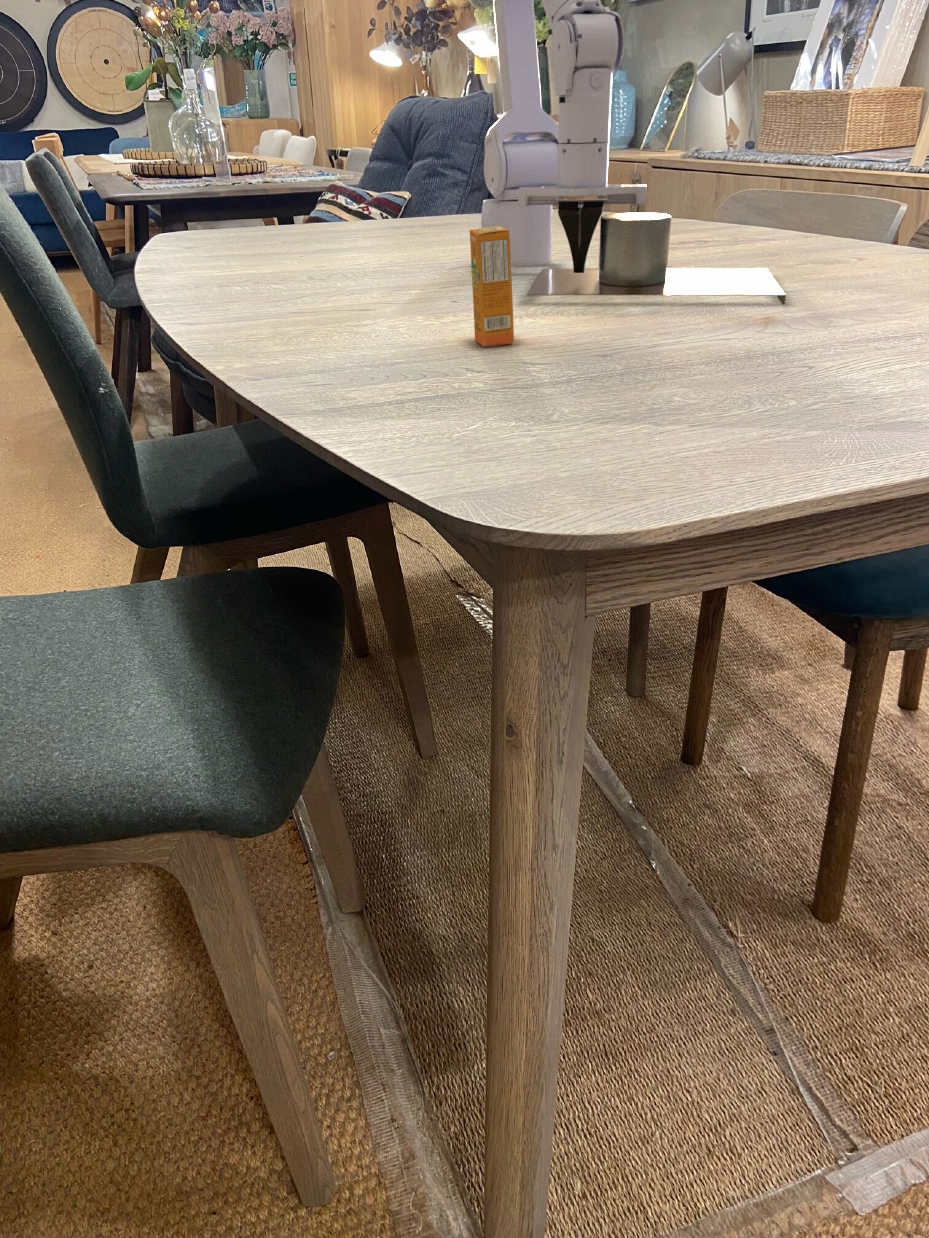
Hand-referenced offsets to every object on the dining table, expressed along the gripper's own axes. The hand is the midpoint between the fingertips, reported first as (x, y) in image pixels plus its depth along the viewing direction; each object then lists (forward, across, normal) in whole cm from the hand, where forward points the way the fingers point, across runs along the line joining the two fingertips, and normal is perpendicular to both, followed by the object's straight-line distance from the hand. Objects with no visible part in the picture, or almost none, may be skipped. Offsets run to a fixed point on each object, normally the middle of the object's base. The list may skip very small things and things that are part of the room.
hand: (579, 271), depth 106 cm
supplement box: (+2, -6, -28) cm, 29 cm away
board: (+2, +9, 0) cm, 9 cm away
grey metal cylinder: (+1, +6, 0) cm, 6 cm away
